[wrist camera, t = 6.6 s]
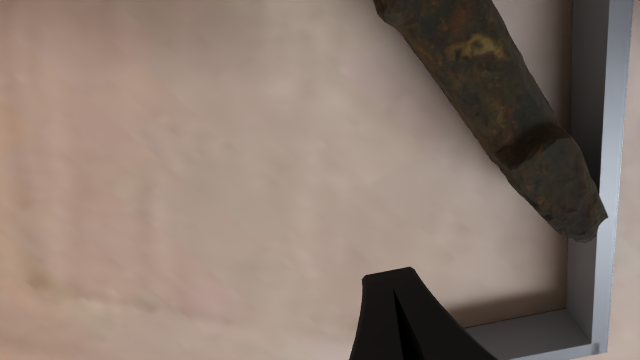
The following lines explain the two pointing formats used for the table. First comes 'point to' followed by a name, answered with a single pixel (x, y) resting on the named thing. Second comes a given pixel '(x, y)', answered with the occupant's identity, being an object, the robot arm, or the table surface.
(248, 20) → the table surface
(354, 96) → the table surface
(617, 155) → the u-shaped bracket
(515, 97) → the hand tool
